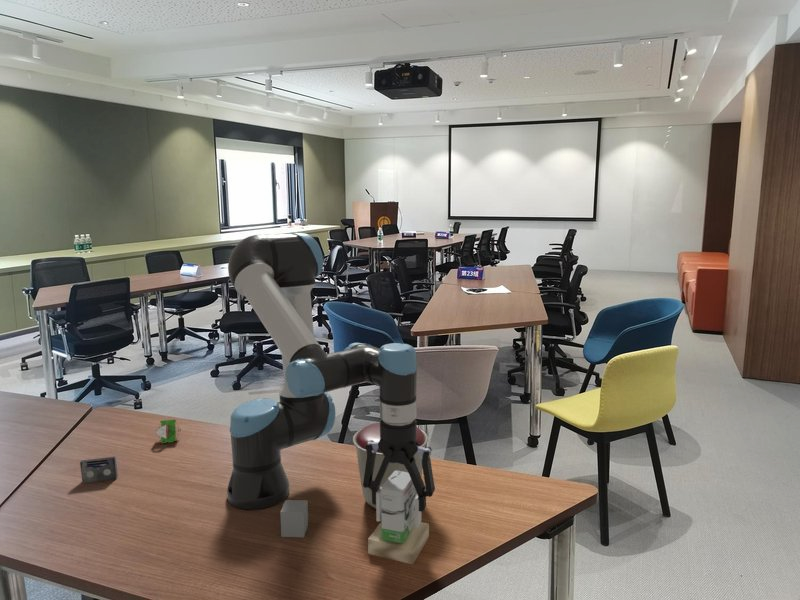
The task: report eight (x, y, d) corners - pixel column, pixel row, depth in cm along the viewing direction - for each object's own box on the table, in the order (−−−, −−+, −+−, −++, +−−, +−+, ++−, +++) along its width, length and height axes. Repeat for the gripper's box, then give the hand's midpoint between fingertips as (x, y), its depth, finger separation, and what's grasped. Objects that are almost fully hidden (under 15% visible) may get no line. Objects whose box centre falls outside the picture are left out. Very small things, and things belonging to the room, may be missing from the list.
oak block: (368, 556, 119) (368, 539, 118) (386, 530, 128) (386, 514, 127) (412, 567, 115) (413, 549, 115) (428, 540, 124) (428, 523, 124)
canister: (338, 503, 139) (336, 421, 135) (387, 475, 152) (386, 400, 148) (395, 530, 127) (394, 441, 123) (442, 497, 141) (443, 417, 137)
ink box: (403, 545, 116) (402, 491, 114) (380, 540, 118) (379, 487, 116) (416, 522, 124) (416, 472, 122) (395, 518, 126) (394, 468, 124)
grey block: (281, 537, 125) (280, 512, 124) (286, 524, 130) (285, 500, 129) (304, 537, 125) (303, 512, 124) (308, 524, 130) (307, 500, 129)
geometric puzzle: (159, 428, 178) (155, 415, 173) (182, 426, 180) (179, 413, 174) (157, 449, 174) (153, 436, 168) (181, 447, 175) (177, 433, 170)
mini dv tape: (117, 476, 153) (115, 455, 151) (116, 479, 151) (114, 458, 150) (84, 480, 150) (81, 459, 149) (82, 483, 149) (80, 462, 148)
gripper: (344, 421, 116) (347, 523, 120) (443, 431, 110) (442, 538, 114) (357, 408, 123) (359, 504, 127) (451, 417, 117) (450, 518, 121)
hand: (398, 520), depth 121 cm, fingers open, 8 cm apart
